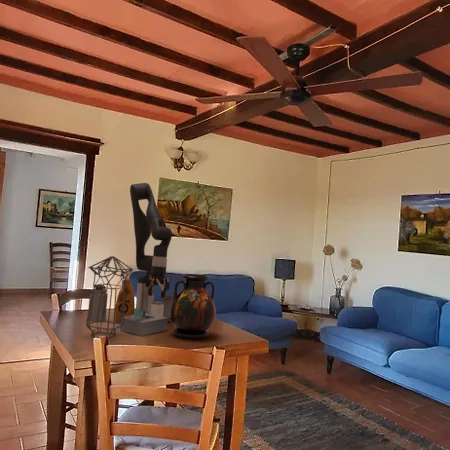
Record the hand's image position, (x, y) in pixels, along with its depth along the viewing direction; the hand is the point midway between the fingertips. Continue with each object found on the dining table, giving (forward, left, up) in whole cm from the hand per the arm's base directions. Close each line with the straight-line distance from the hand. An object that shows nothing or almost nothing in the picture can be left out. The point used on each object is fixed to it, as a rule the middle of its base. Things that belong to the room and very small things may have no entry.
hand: (156, 296), depth 207 cm
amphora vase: (+5, +27, -14) cm, 31 cm away
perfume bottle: (+17, -24, -14) cm, 32 cm away
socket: (+15, +6, -14) cm, 21 cm away
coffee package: (+8, -14, -14) cm, 21 cm away
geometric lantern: (+34, +2, -14) cm, 37 cm away
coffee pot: (-15, +2, -14) cm, 20 cm away
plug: (-1, 0, -14) cm, 14 cm away
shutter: (+21, +6, -7) cm, 23 cm away
